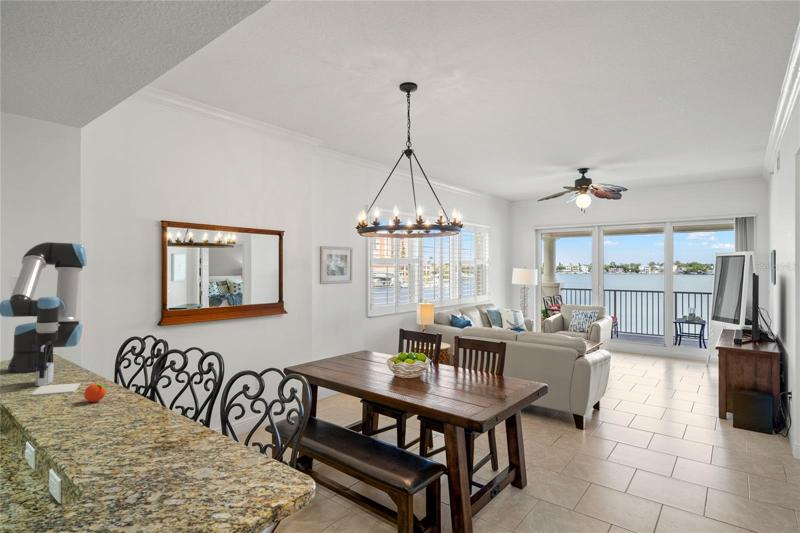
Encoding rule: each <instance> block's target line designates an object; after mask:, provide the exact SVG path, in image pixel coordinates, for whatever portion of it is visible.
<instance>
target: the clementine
mask: <svg viewBox="0 0 800 533" xmlns="http://www.w3.org/2000/svg"><path fill="white" fill-rule="evenodd" d="M106 389H107V388H106V387H105V386H104V385H103V384H102V383H96V382H95V383H93V384H90V385H88V386H87V387H86V388H85V390H84V392H83V395H84V398H85V400H87V401H88V402H90V403H92V402H93V403H95V402H96V403H97V402H99V401H101V400H102V399H103V398H104V397H105V395H106V393H107V390H106Z"/></svg>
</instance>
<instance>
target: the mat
mask: <svg viewBox="0 0 800 533" xmlns="http://www.w3.org/2000/svg"><path fill="white" fill-rule="evenodd" d="M79 385H80V386H81V382H79V383H77V382H76V383H63V384H62V383H61V384H48V385H46V386H38V387H37V388H36V390H34V391H33V392H32V393H31V394H30V396H31V397H32V396H44V395H55V394H56V395H57V394H69V393H71V394H72V393H75V392H76V391H77V389H78V388H79V387H80V386H79Z"/></svg>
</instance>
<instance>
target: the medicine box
mask: <svg viewBox="0 0 800 533" xmlns="http://www.w3.org/2000/svg"><path fill="white" fill-rule="evenodd" d="M36 369H37V367H36ZM46 370H47V374H46V385H44V386H47V385H51V383H52V382H54V373H55V362H53V363H47V365H46ZM34 386H35V387H39V386H38V371H35V384H34Z"/></svg>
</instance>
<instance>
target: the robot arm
mask: <svg viewBox="0 0 800 533" xmlns="http://www.w3.org/2000/svg"><path fill="white" fill-rule="evenodd" d="M21 264H22V267H21V270H20V272H19V274H18V277H17V279H16V282H15V284H14V287H13V290H12V293H11V295H10V297H9V298H10V299H3V300H2V301H1V302H0V316H2V317H5V318H8V317H9V318H18V317H20V318H22V317H36V322H29V323H23V324H19V325H17V326H15V328H14V334H13V351H12V352H13V354H12V357H11V359H10V361H9V364H8V366H7V372H8V373H12V374H13V373H32V372H36V371H38V386H37V387H40V386H44V385H46V374H47V370H46V365H47V363H54V348H70V347H71V348H72V347H76V346H78V344H79V343H80V339H81V336H82V333H83V324H82V323H80V320H79V319H78V318H77V317H76V316H77V315H76V314H77V302H78V285H79V275H80V274H79V273H80V272H81V271H82V270H83V267H85V266H87V253H86V248H85V246H84V245H83V244H80V243H71V242H68V243H66V242H51V241H50V242H49V241H46V242H42V243H39V244H37V245H34V246H33V247H31V248H30V249H29V250H27V251H26V253H25V254H24V255H23V257H22V259H21ZM49 265H50V266H54V270H56V271H57V283H56V293H55V295H56V296H42V297H39V298H38V299H33V298H34V294H35V292H36V288H37V285H38V283H39V281H40V276H41V274H42V270H43V269H45V268H46V267H47V266H49ZM36 367H37V369H36ZM46 386H47V385H46Z"/></svg>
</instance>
